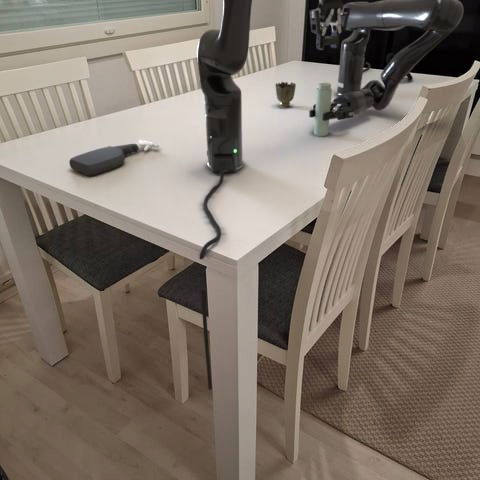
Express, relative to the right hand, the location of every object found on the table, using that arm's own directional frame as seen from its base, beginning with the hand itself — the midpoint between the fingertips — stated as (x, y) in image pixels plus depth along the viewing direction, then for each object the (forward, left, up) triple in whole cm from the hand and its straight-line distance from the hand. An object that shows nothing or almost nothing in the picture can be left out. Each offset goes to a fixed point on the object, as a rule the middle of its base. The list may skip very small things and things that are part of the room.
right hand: (317, 115), depth 136 cm
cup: (-29, -18, -6) cm, 35 cm away
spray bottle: (+37, -48, -6) cm, 61 cm away
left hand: (-2, +1, +19) cm, 19 cm away
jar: (-2, +1, -6) cm, 7 cm away
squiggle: (-85, +19, -6) cm, 88 cm away
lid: (-2, +1, +21) cm, 22 cm away
